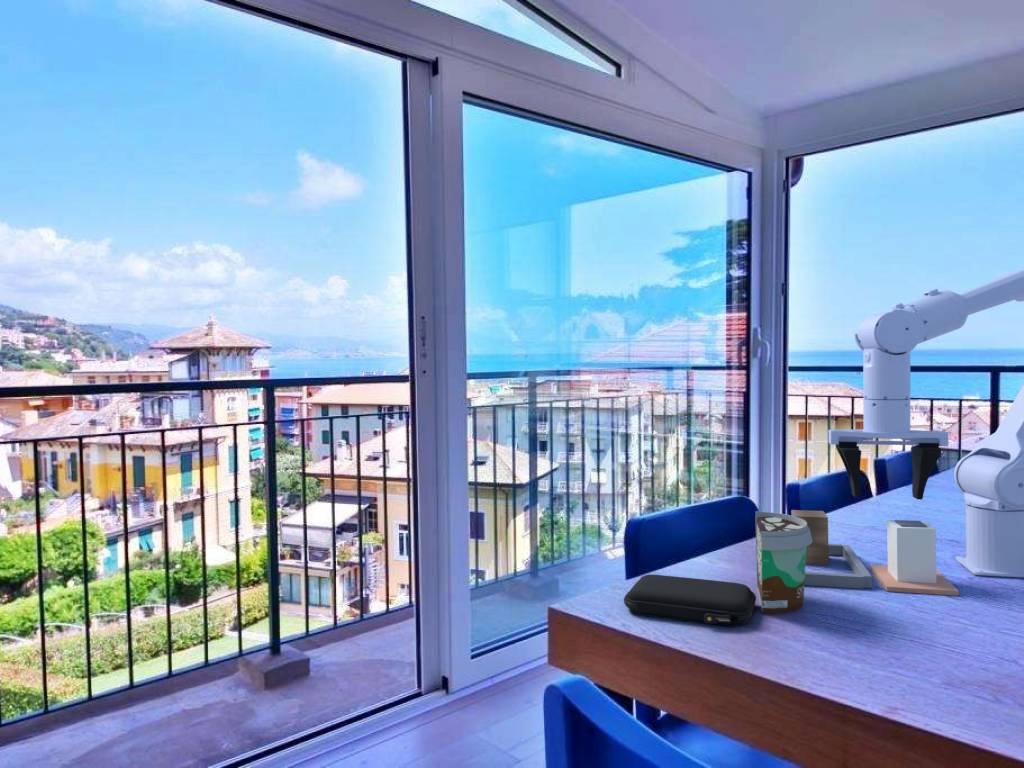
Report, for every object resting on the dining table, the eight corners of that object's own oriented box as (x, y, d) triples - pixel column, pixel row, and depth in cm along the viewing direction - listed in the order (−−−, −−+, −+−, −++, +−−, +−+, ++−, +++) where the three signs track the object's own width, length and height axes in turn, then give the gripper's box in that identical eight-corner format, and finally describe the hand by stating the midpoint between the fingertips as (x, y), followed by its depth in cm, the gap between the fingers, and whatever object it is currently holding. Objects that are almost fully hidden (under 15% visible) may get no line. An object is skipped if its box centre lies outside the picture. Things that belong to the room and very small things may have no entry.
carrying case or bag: (617, 620, 81) (748, 637, 74) (616, 594, 81) (748, 610, 74) (639, 592, 90) (757, 605, 84) (639, 569, 90) (757, 581, 84)
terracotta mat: (934, 572, 94) (934, 567, 94) (958, 595, 85) (958, 590, 85) (870, 568, 97) (870, 564, 97) (886, 591, 87) (886, 586, 87)
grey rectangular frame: (848, 554, 104) (848, 544, 104) (872, 589, 88) (872, 577, 88) (764, 550, 108) (764, 540, 108) (773, 583, 91) (773, 572, 91)
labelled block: (924, 572, 92) (923, 519, 92) (936, 583, 88) (935, 527, 88) (887, 571, 93) (887, 518, 93) (897, 581, 89) (896, 526, 89)
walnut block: (824, 557, 103) (823, 511, 103) (828, 565, 99) (827, 517, 99) (792, 555, 104) (791, 510, 104) (795, 563, 100) (794, 516, 100)
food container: (821, 622, 77) (819, 534, 77) (763, 618, 79) (761, 532, 79) (806, 588, 89) (805, 512, 89) (756, 585, 91) (755, 510, 91)
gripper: (936, 397, 96) (936, 493, 97) (824, 397, 100) (824, 490, 101) (953, 400, 90) (953, 503, 90) (833, 400, 94) (833, 498, 94)
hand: (886, 497), depth 95 cm, fingers open, 7 cm apart
